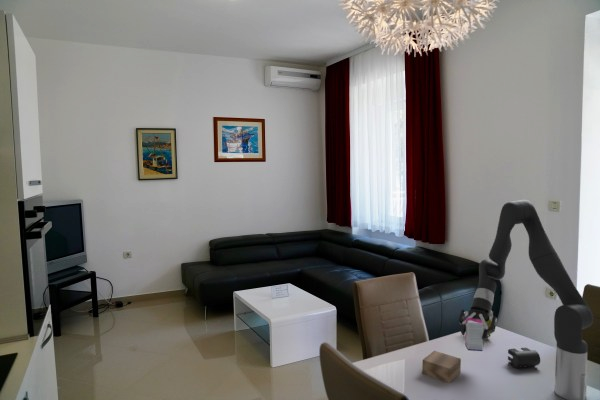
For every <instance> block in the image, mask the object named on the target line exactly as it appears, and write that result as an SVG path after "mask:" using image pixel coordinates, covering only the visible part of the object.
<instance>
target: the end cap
mask: <svg viewBox="0 0 600 400" xmlns="http://www.w3.org/2000/svg"><path fill="white" fill-rule="evenodd" d="M507 353H508V356H507V362H508V365H510V366H511V367H512V368H514V369H517V368H518V369H519V368H529V367H537V366H539V365H540V363H541V357H540V354H539V352H538V351H537V350H535V349H534V350H533V349H532V350H531V349H529V348H528V347H526V346H525V347H521V348H520V350H517V349H516V348H509V349H507ZM509 355H511V356H509Z"/></svg>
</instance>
